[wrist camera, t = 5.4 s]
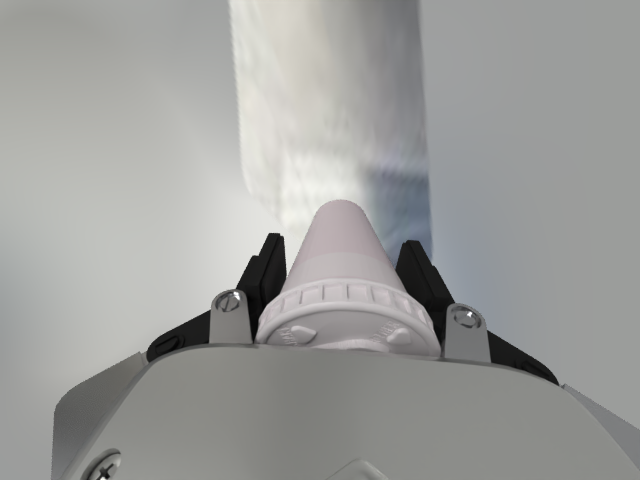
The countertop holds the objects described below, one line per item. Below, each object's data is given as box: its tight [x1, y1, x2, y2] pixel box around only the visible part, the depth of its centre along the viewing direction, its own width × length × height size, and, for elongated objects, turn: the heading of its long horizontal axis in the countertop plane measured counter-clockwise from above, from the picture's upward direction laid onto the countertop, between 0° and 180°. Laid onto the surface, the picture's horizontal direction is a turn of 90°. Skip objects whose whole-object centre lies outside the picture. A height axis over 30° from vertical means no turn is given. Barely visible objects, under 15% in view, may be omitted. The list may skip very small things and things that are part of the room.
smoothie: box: [254, 200, 441, 357], centre depth 10 cm, size 6×6×14 cm
